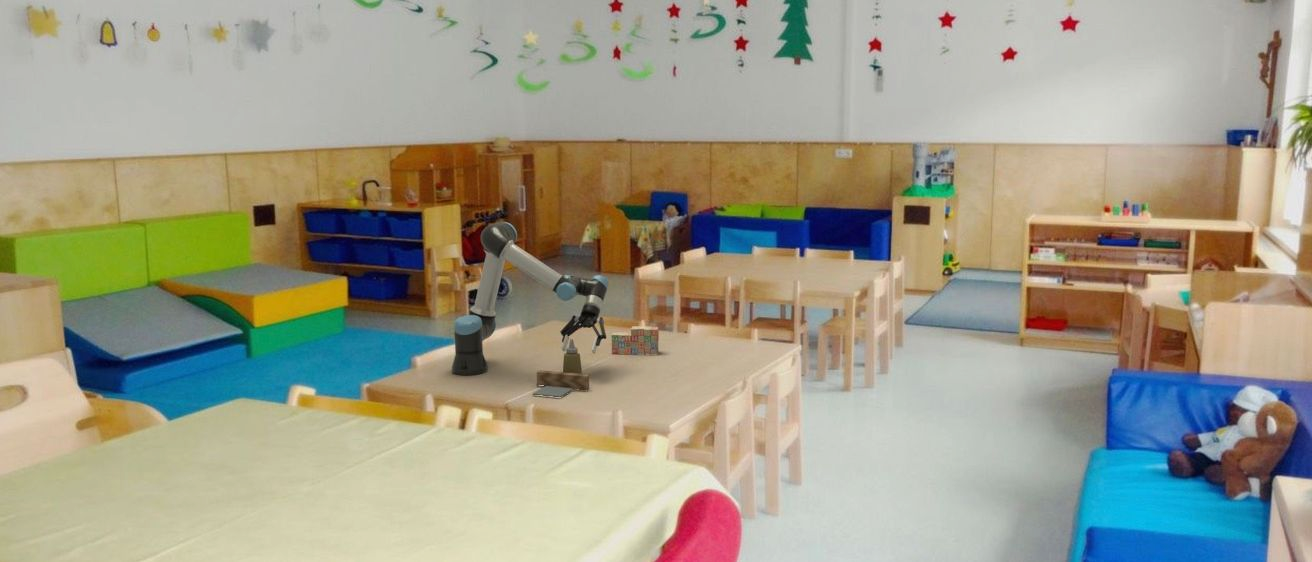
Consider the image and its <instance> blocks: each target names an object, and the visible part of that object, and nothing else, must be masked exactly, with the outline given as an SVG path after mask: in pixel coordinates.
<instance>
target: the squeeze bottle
mask: <svg viewBox="0 0 1312 562" xmlns="http://www.w3.org/2000/svg"><path fill="white" fill-rule="evenodd" d="M568 344H569V345H568V346H567V347H566V350H565V353H564V354H563V362H562V363H563V364H562V372H565V373H576V374H583V370H582V360H581V354H580V353H579V352H578V347H577V346H575V342H574V339H570V338H569V342H568Z"/></svg>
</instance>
